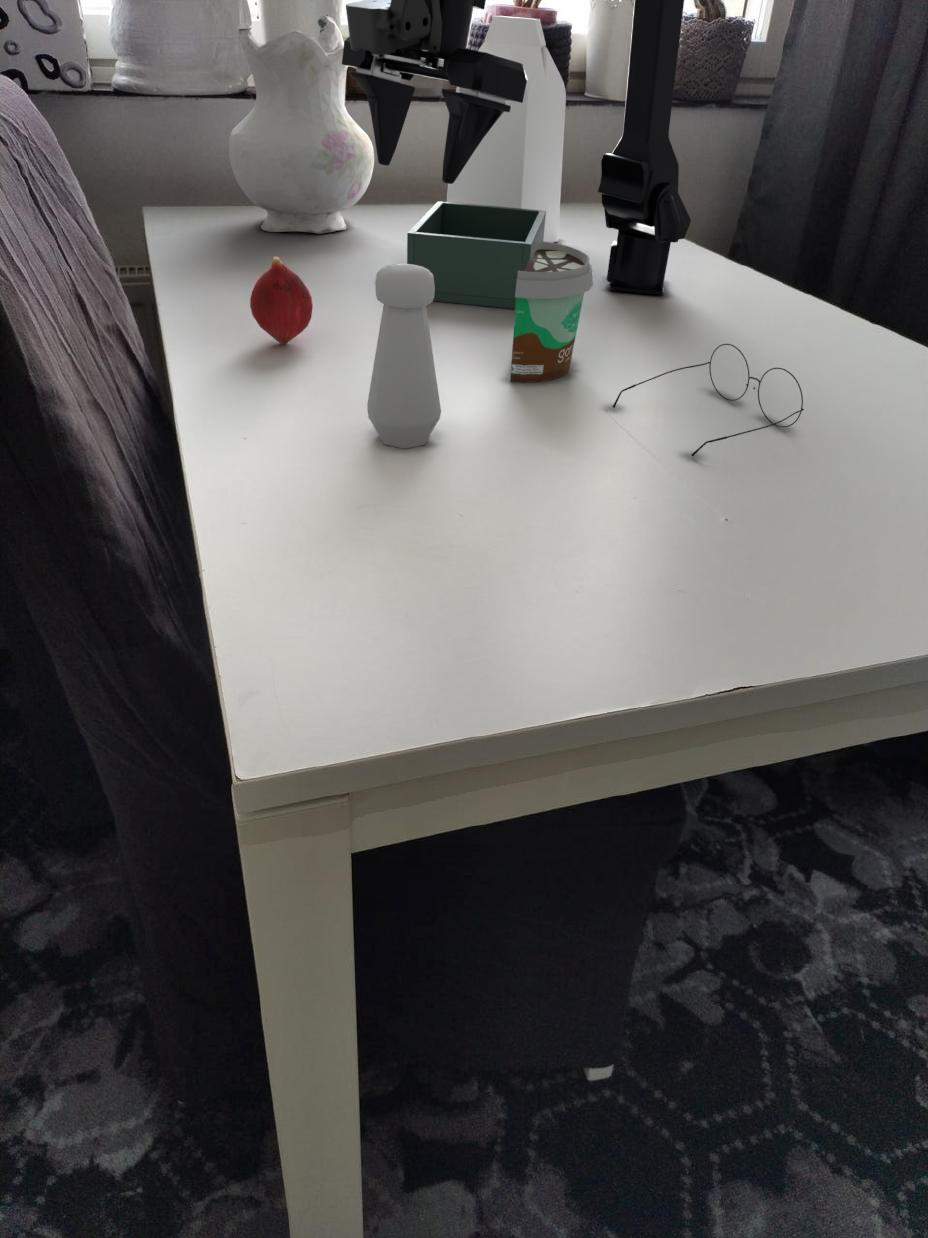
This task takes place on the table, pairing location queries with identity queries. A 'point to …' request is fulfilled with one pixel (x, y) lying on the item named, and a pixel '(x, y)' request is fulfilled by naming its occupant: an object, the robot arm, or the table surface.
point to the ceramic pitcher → (300, 133)
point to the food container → (548, 311)
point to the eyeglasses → (729, 399)
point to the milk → (520, 132)
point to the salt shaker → (404, 359)
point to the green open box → (475, 250)
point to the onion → (281, 303)
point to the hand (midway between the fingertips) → (414, 173)
